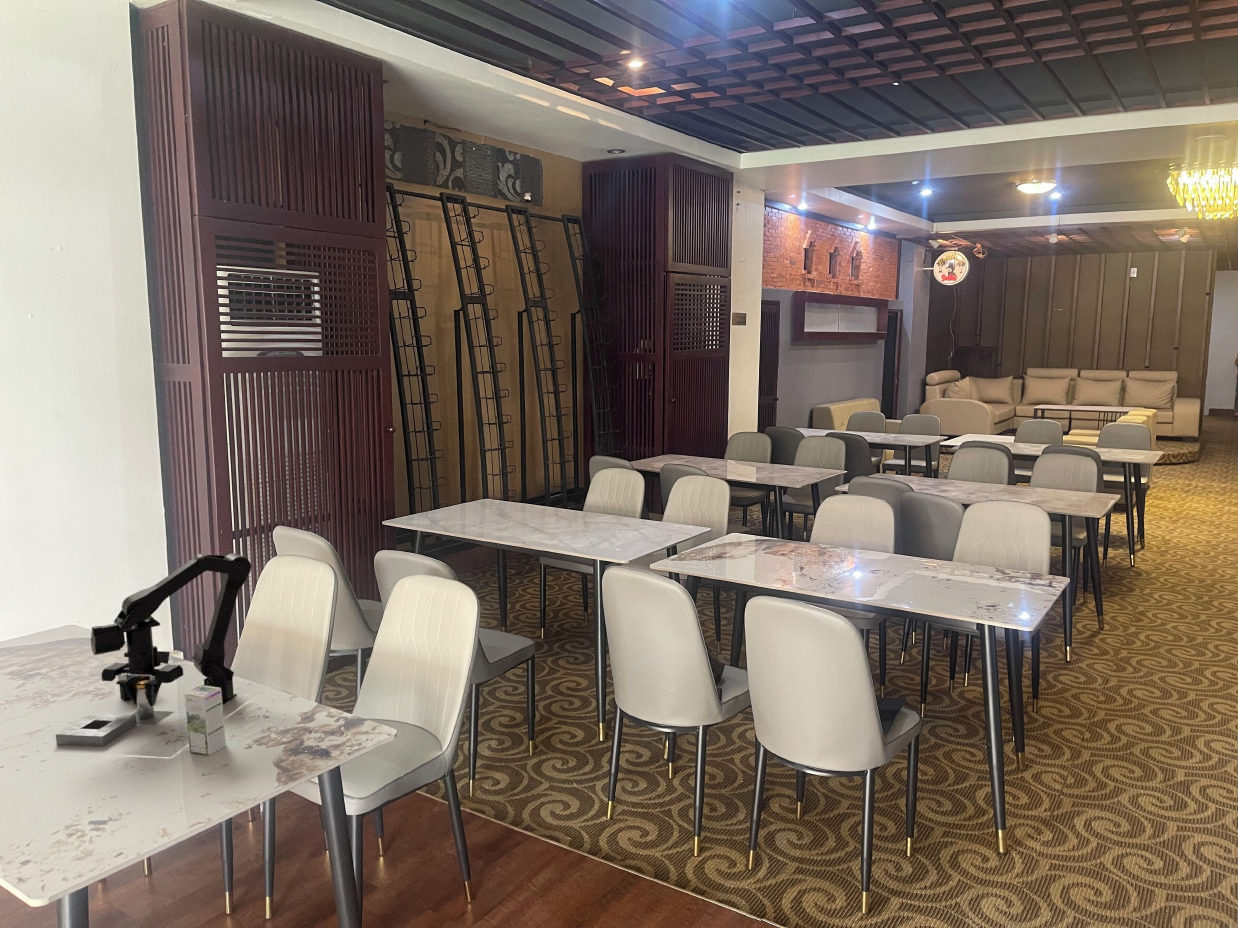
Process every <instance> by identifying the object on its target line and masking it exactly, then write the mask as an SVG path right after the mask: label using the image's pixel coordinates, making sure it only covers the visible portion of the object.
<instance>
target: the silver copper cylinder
mask: <svg viewBox="0 0 1238 928" xmlns="http://www.w3.org/2000/svg"><path fill="white" fill-rule="evenodd" d="M147 682H149V681H148V680H146V681H140V682H137V683H136V684H135V688H136V699H137V706H136V708H137V711H138V719H139V720H148V719H151V718H153V717H154V711H155V707H154V706H150V704H149V701H148V696H147V692H146V688H145V683H147Z"/></svg>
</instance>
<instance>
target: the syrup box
mask: <svg viewBox="0 0 1238 928" xmlns="http://www.w3.org/2000/svg"><path fill="white" fill-rule="evenodd" d="M184 700H185V711H186V712H185V713H186V724H187V733H188V745H189V746H188V747H189V753H192V754H199V755H205V756H210V755H213V754H214V753H216V752H218V751H220V750H221V749H223V748H225V747H226V746H227V742H226V734H225V732H226V731H225V730H226V729H225V721H224V720H225V719H224V708H223V706H224V705H223V704H222V693H221V688H218V687H211V686H203V684H202V685H200V686H197V687H194V688H192V689H190V690H189V691H186V692H185V693H184Z"/></svg>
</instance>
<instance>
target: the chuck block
mask: <svg viewBox="0 0 1238 928" xmlns="http://www.w3.org/2000/svg"><path fill="white" fill-rule="evenodd" d="M137 726H138V724H137V720H136V716H134V715H131V714H129V715H128V714H110V713H109V714H101V713H90V714H89V715H87V716H85V717H84V718H82V719H80V720H78V721H77V722H75V723H73V724H71V725H69V726H67V727H66V728H64V729H63V730H61V731H59V732H57V733H56V734H55V741H56V746H66V747H67V746H69V747H70V746H71V747H89V748H90V747H91V748H104V747H106V746H108V745H109V744H111V743H113V742H115V740H117V739H119V738H120V737H122V736H123V735H125V734H126V733H128V732H129V731H131V730H133V729H135V728H137Z"/></svg>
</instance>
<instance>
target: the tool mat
mask: <svg viewBox="0 0 1238 928" xmlns="http://www.w3.org/2000/svg"><path fill="white" fill-rule="evenodd" d="M173 713H174V711H169V710H167V711H166V710H165V711H163V710H154V717H153V718H151V719H148V720H139V719H138V710H137V711H135V712H133V713H132V714H130V715H134V716H136V720H137V725H149V726H151V725H152V726H153V725H154V726H155V725H156V724H158V723H160V722H162V720H164V719H166V718H167V717H169V716H170V715H172V714H173Z"/></svg>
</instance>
